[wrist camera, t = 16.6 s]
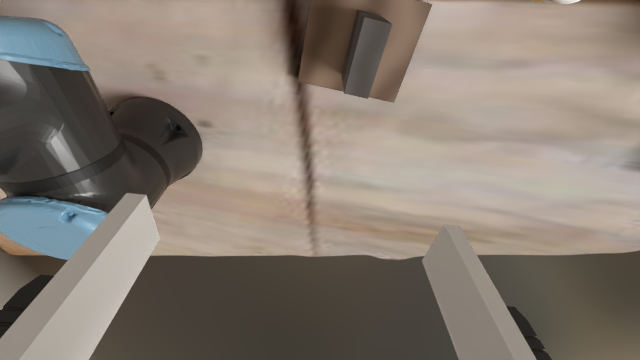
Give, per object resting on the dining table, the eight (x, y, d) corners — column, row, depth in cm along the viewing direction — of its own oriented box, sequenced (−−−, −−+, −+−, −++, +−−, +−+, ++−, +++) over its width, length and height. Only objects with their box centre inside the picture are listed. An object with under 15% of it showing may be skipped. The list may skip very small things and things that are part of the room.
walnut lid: (298, 77, 41) (292, 102, 33) (315, -27, 33) (312, -28, 25) (391, 97, 42) (406, 126, 35) (427, 3, 35) (457, 11, 27)
